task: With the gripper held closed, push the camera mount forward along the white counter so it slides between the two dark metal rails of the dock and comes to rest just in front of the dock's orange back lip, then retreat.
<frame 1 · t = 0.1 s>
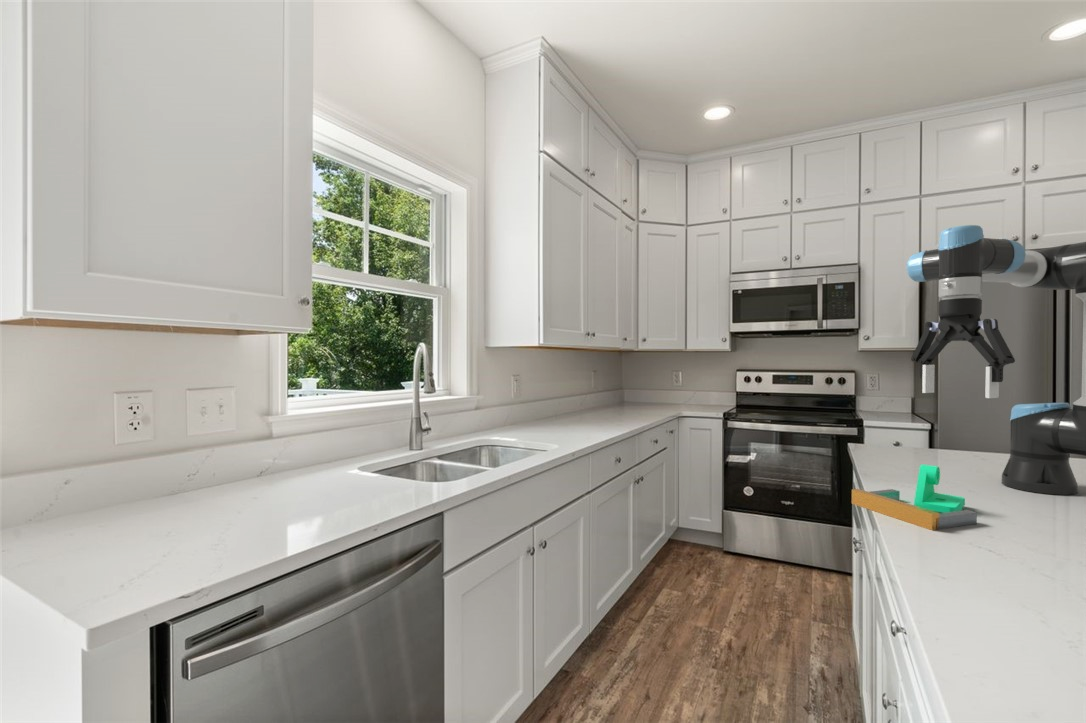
hand: (958, 395, 117), 28 cm above the worktop, fingers open, 13 cm apart
camera mount: (940, 511, 126), on the worktop
dock: (911, 512, 123), on the worktop
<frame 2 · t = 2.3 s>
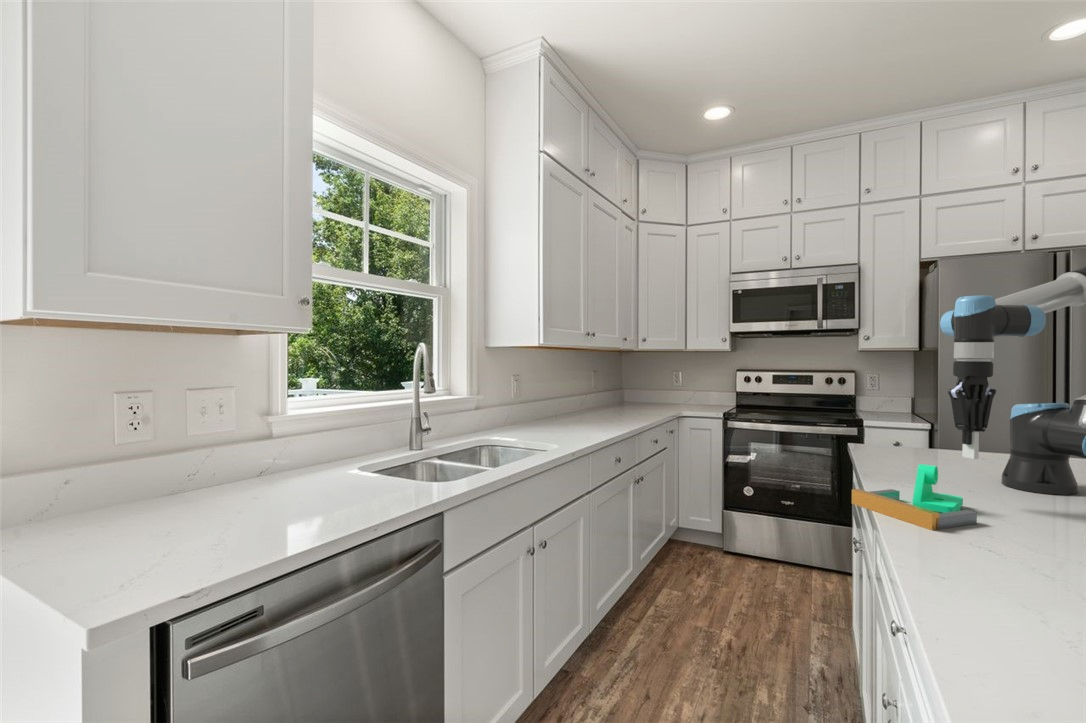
hand: (970, 457, 128), 12 cm above the worktop, fingers closed
nothing on the worktop moved.
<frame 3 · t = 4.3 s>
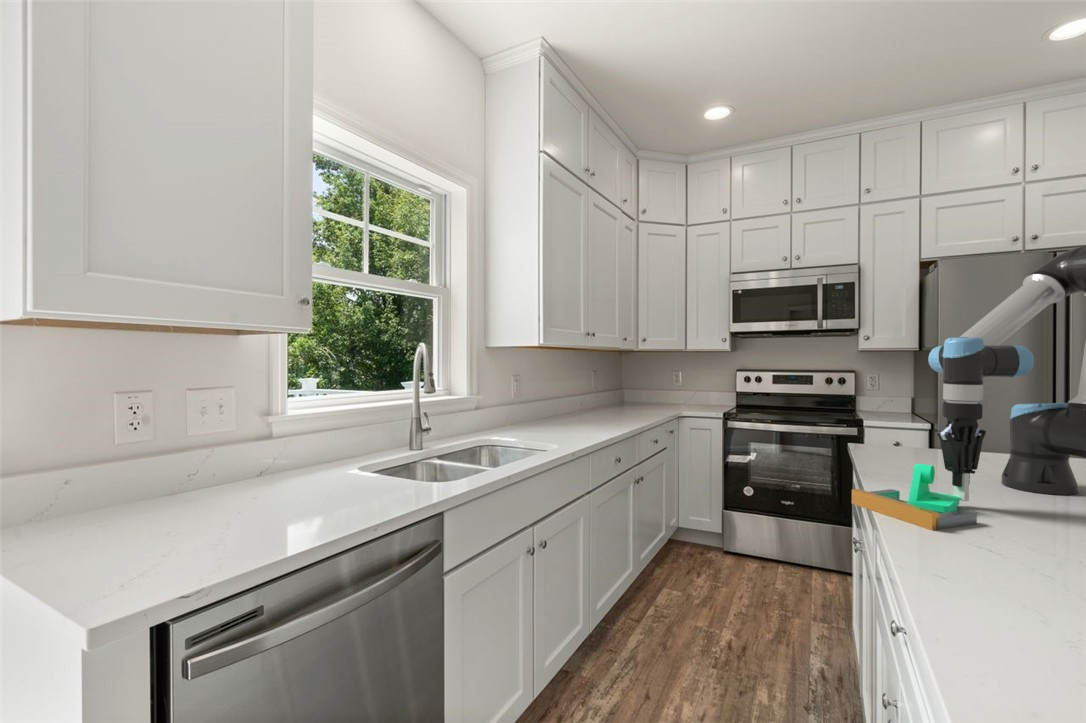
hand: (960, 499, 128), 2 cm above the worktop, fingers closed
camera mount: (934, 509, 126), on the worktop, touching gripper
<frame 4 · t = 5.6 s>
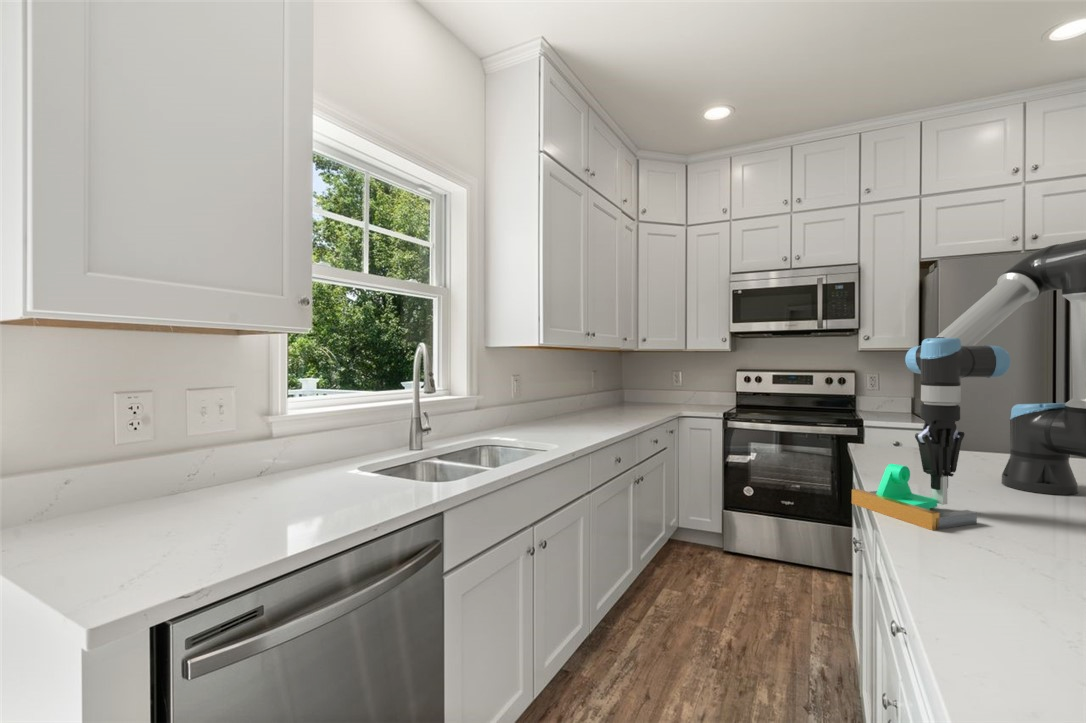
hand: (939, 502, 125), 2 cm above the worktop, fingers closed
camera mount: (906, 510, 126), on the worktop, touching dock, gripper
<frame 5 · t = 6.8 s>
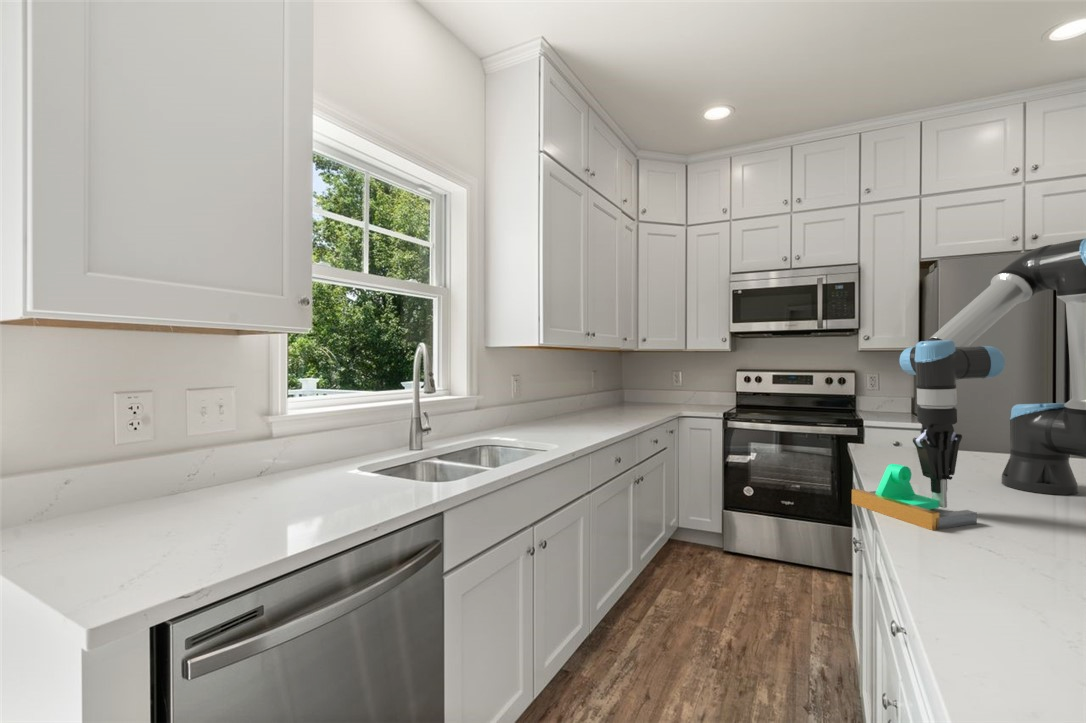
hand: (939, 506, 125), 1 cm above the worktop, fingers closed
nothing on the worktop moved.
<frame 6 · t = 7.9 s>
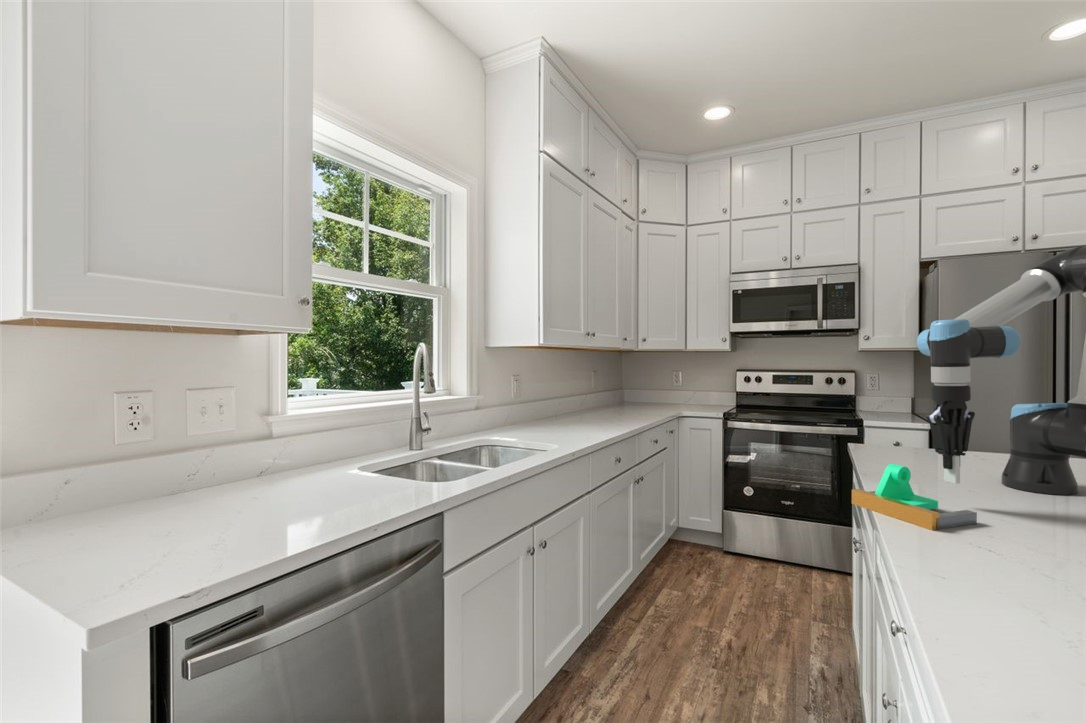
hand: (952, 481, 127), 6 cm above the worktop, fingers closed
camera mount: (906, 511, 126), on the worktop
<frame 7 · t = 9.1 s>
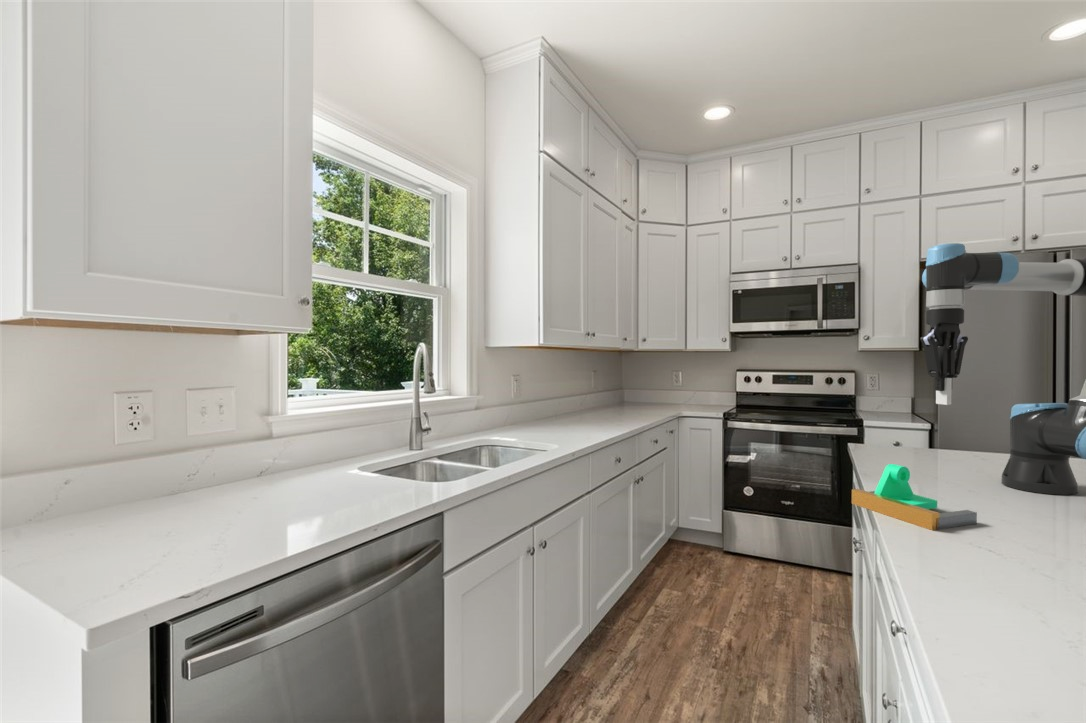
hand: (943, 404, 131), 24 cm above the worktop, fingers closed
nothing on the worktop moved.
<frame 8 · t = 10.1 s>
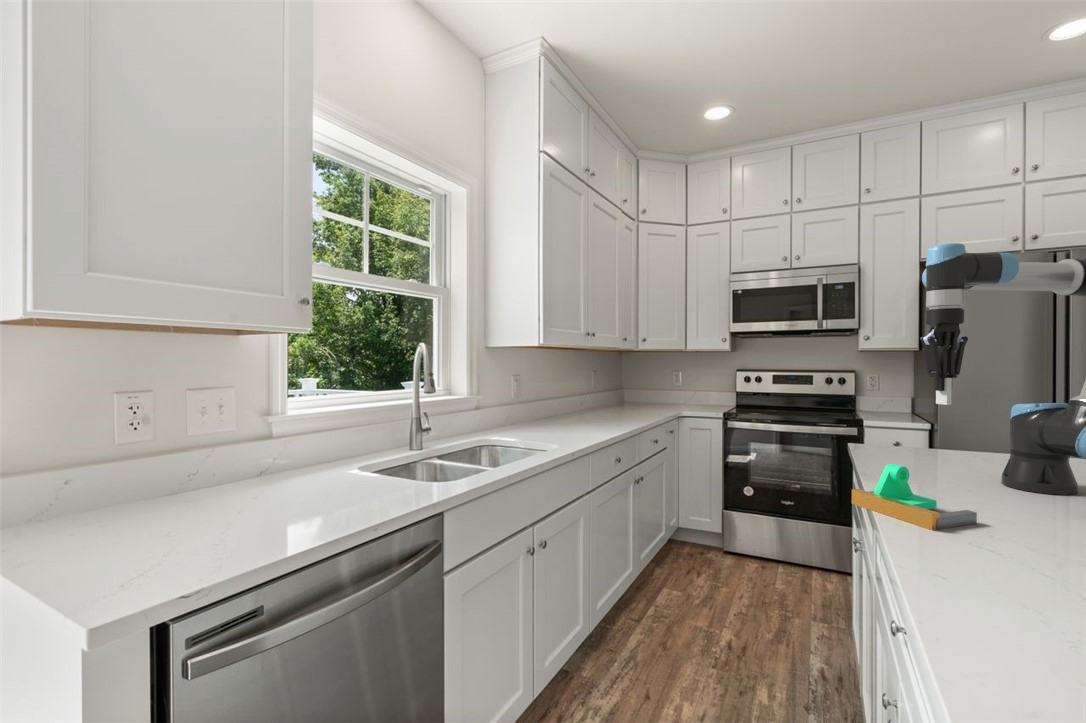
hand: (943, 404, 131), 24 cm above the worktop, fingers closed
nothing on the worktop moved.
at the end: camera mount inside the target area (3.2 cm from its centre), on the worktop; camera mount tilted 0°; camera mount moved 8.3 cm from its start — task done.
